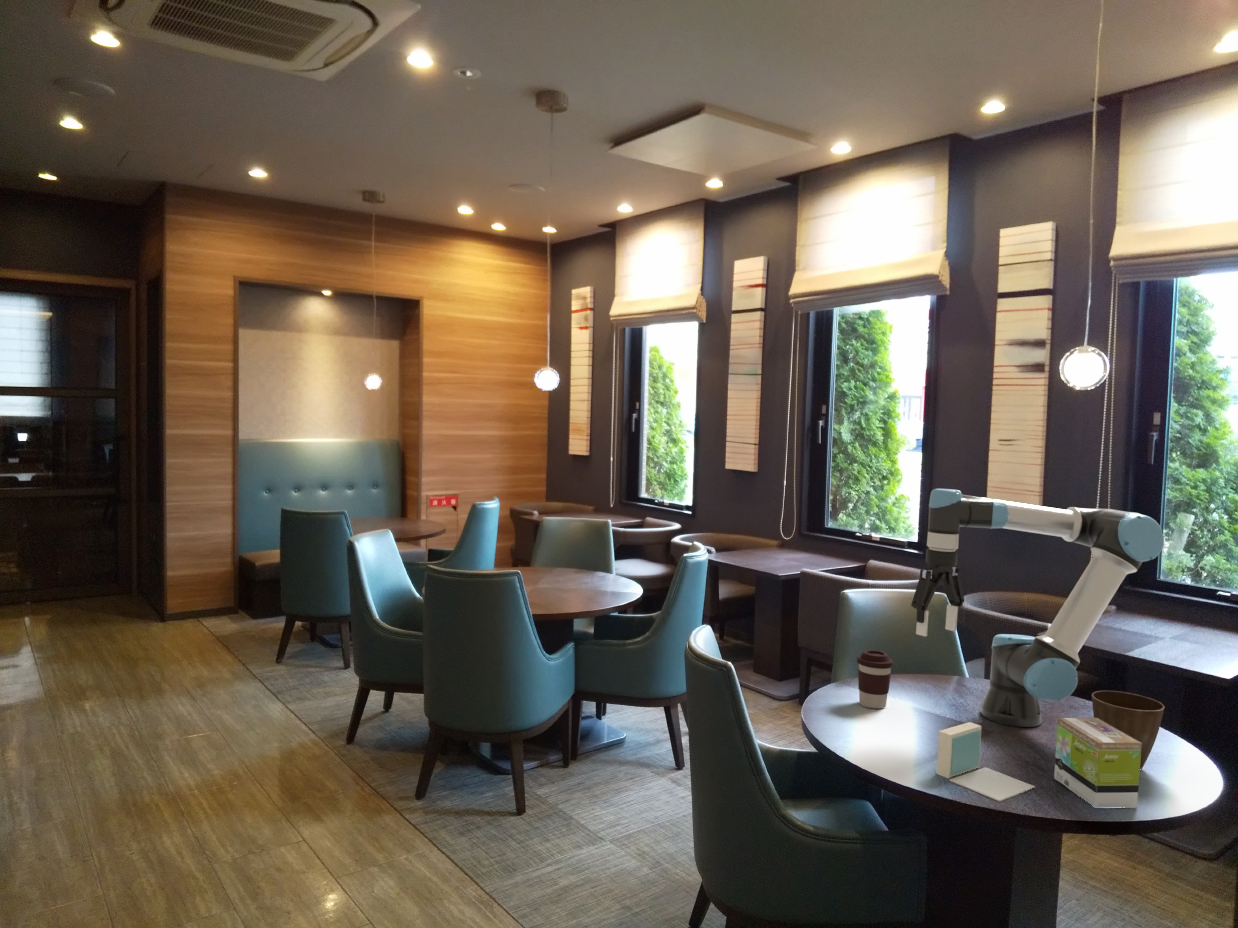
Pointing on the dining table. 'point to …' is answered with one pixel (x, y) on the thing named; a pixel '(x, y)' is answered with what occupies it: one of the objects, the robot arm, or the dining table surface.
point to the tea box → (1097, 762)
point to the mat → (992, 784)
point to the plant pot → (1130, 716)
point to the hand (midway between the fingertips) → (936, 632)
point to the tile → (958, 749)
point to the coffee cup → (874, 678)
